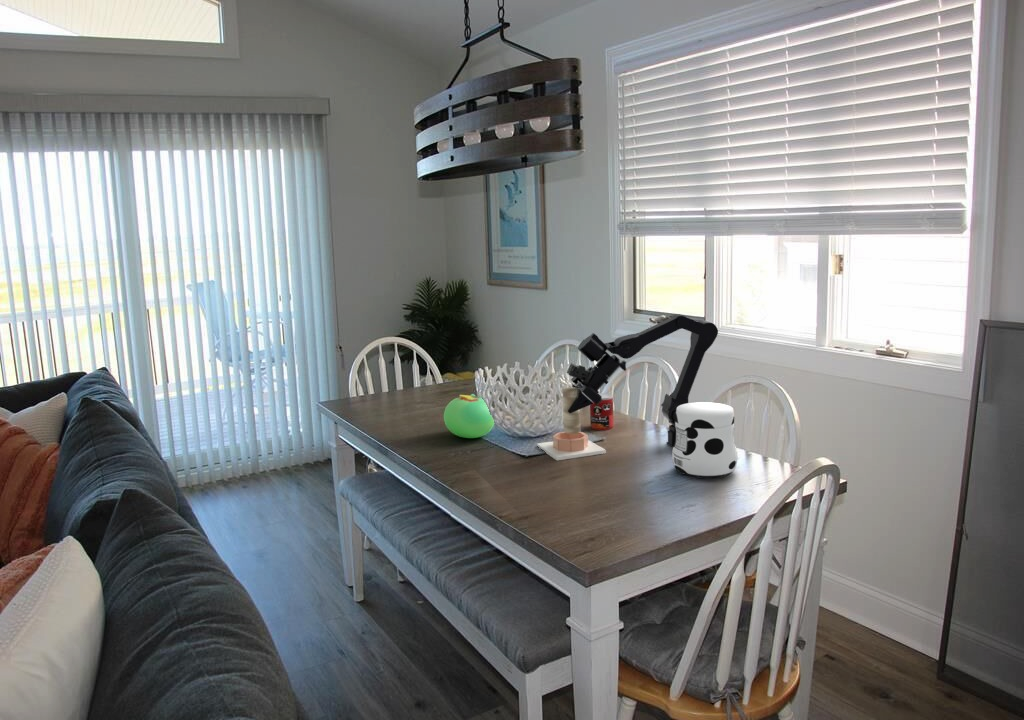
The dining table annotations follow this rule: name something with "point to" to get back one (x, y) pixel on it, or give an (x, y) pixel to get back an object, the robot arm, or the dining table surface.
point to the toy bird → (468, 417)
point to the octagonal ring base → (570, 446)
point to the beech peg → (570, 418)
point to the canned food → (602, 413)
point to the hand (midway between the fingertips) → (567, 410)
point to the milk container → (704, 440)
